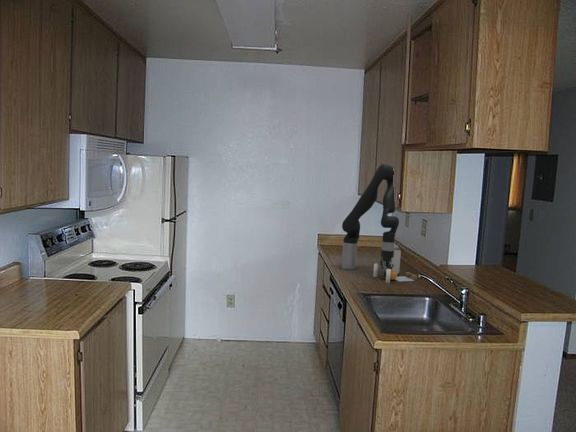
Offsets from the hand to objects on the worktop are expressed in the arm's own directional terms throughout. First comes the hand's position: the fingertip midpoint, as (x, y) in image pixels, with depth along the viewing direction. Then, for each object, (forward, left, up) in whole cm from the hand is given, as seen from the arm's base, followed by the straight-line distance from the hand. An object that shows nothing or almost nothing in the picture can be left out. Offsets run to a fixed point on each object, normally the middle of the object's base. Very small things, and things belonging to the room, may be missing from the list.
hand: (385, 277), depth 290 cm
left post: (-8, -2, -1) cm, 9 cm away
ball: (0, +4, +2) cm, 4 cm away
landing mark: (-1, +12, -1) cm, 12 cm away
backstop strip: (-1, +18, -1) cm, 18 cm away
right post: (+7, -2, -1) cm, 7 cm away
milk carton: (-18, +15, -2) cm, 23 cm away
